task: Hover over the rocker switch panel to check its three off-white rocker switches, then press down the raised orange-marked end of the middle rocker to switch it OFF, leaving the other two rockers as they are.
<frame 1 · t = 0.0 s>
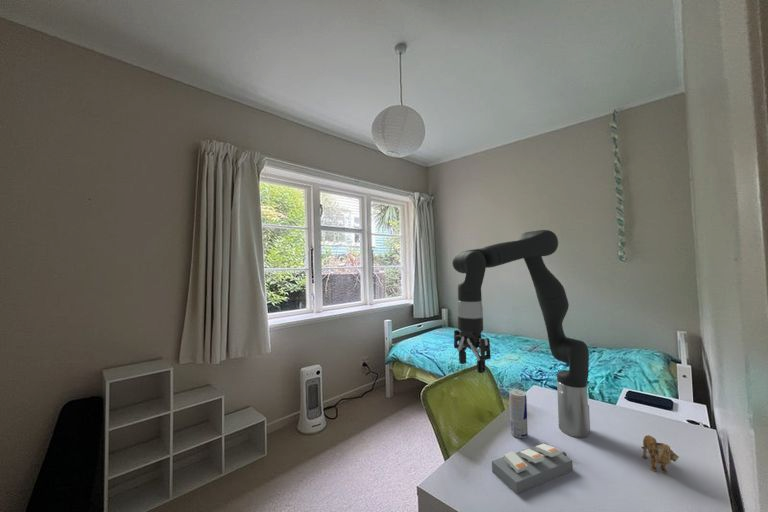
hand: (471, 367, 88), 29 cm above the table, tool pointing down, fingers open, 8 cm apart
rocker 1: (515, 462, 82), point 4 cm above the table, hinge at -12.0°
rocker middle: (532, 456, 84), point 4 cm above the table, hinge at 12.0°
rocker 2: (547, 451, 87), point 4 cm above the table, hinge at 12.0°
beverage can: (519, 435, 102), on the table
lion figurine: (657, 466, 86), on the table
rocker switch panel: (532, 470, 84), on the table
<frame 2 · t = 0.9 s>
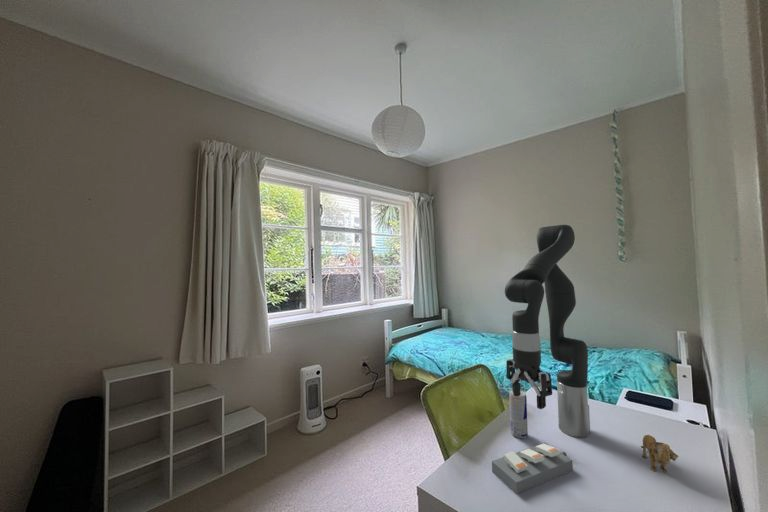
hand: (528, 401, 84), 20 cm above the table, tool pointing down, fingers open, 8 cm apart
nothing on the table moved.
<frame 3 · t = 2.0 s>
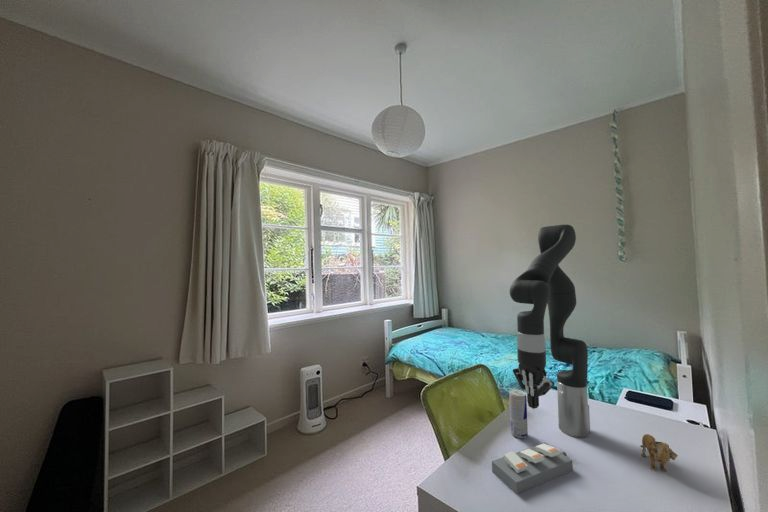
hand: (533, 407, 84), 19 cm above the table, tool pointing down, fingers closed
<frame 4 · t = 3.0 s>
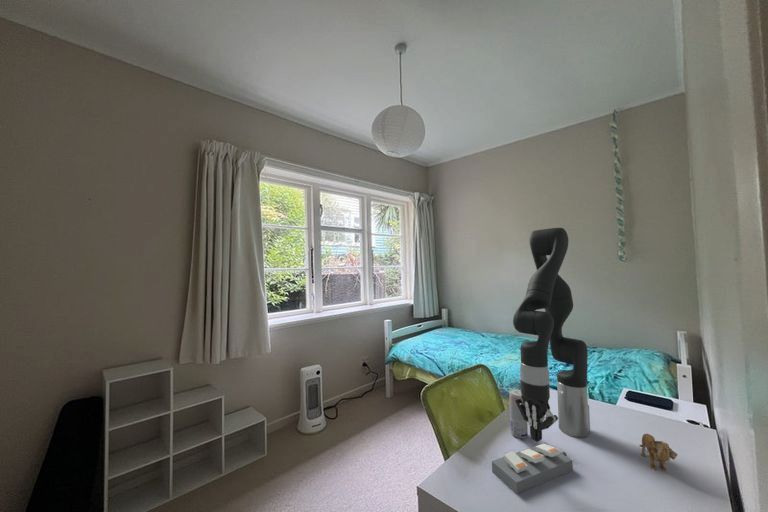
hand: (536, 439, 83), 10 cm above the table, tool pointing down, fingers closed
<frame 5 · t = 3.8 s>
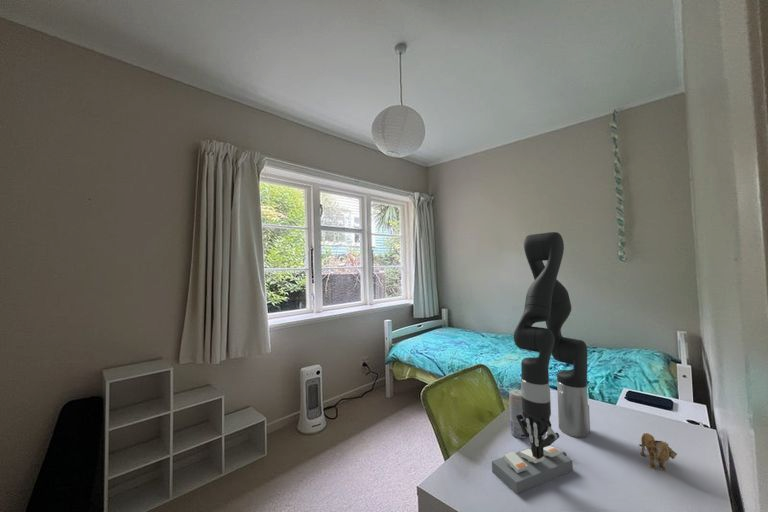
hand: (537, 456, 82), 5 cm above the table, tool pointing down, fingers closed
rocker middle: (532, 456, 84), point 4 cm above the table, hinge at 11.9°, touching gripper
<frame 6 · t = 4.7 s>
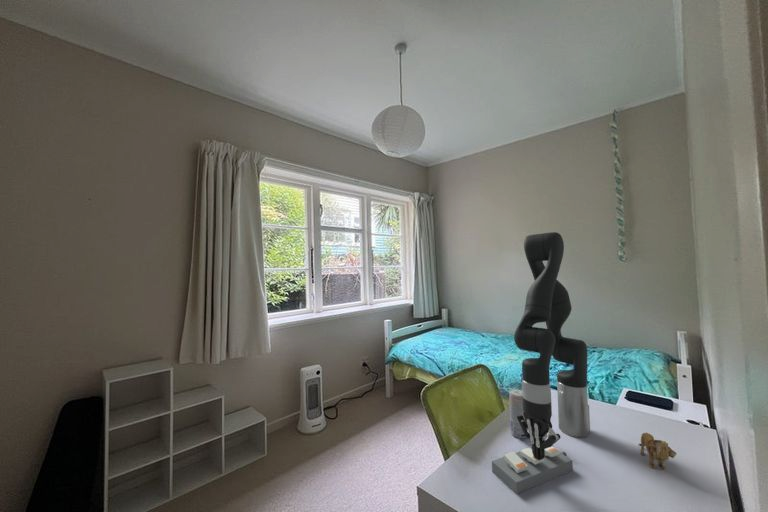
hand: (538, 457, 82), 5 cm above the table, tool pointing down, fingers closed
rocker middle: (531, 456, 84), point 4 cm above the table, hinge at 3.7°, touching gripper
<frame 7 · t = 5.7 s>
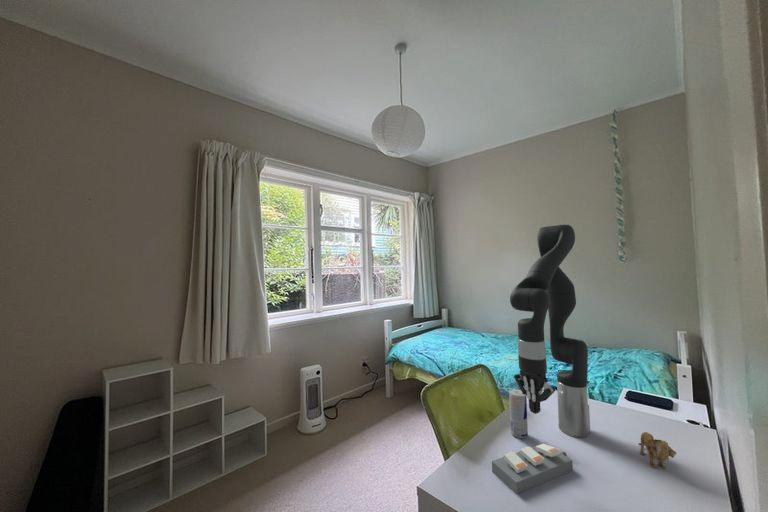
hand: (534, 412, 86), 17 cm above the table, tool pointing down, fingers closed
rocker middle: (531, 456, 84), point 4 cm above the table, hinge at -6.2°
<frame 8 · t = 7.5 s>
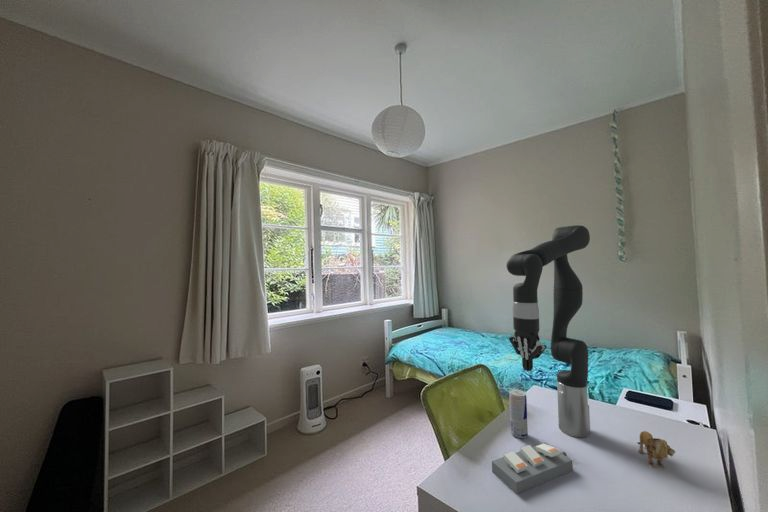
hand: (527, 370, 91), 27 cm above the table, tool pointing down, fingers closed
rocker middle: (531, 456, 84), point 4 cm above the table, hinge at -18.0°
at the end: rocker middle at -18° (first picture: +12°); rocker 2 at +12° (first picture: +12°); rocker 1 at -12° (first picture: -12°) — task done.
